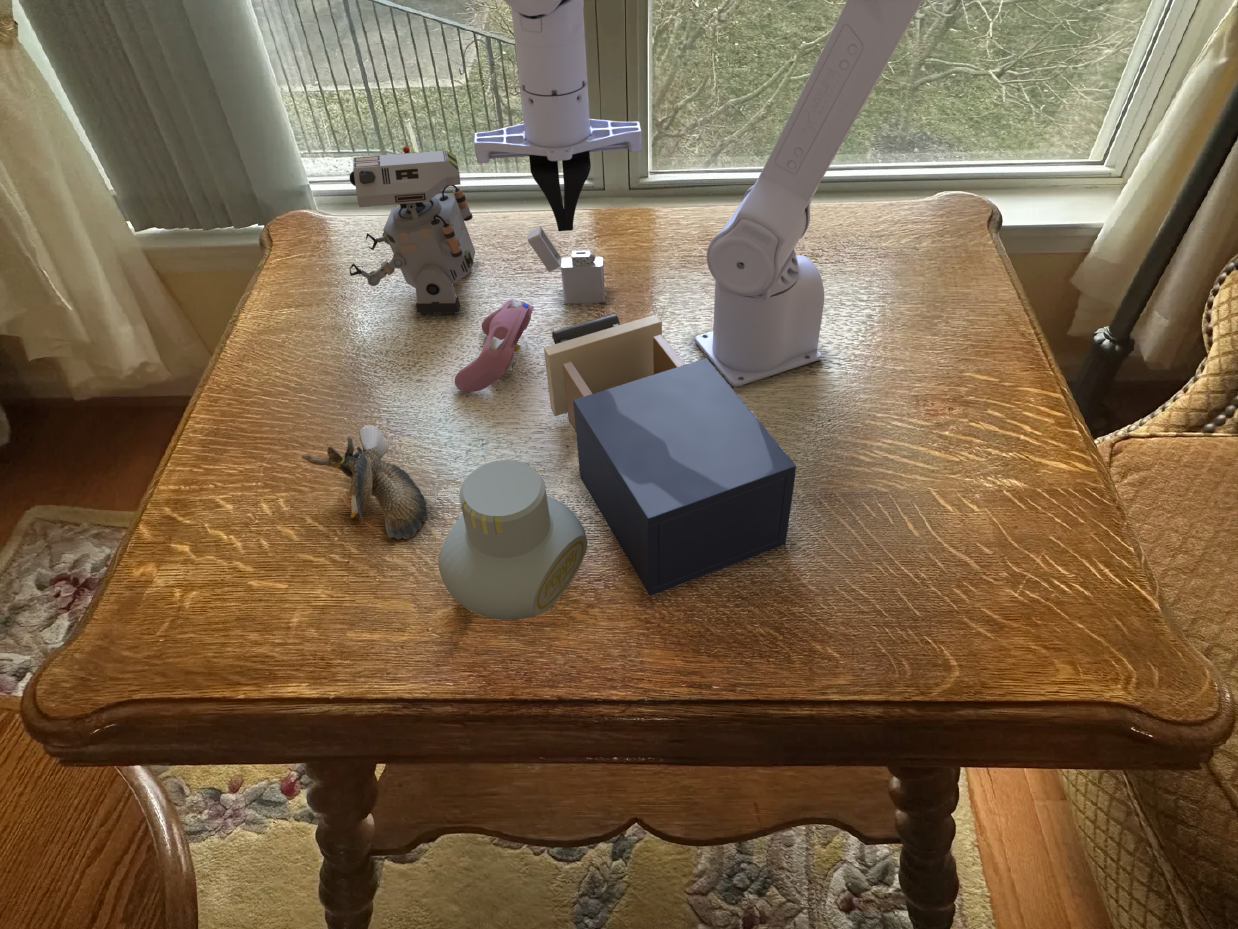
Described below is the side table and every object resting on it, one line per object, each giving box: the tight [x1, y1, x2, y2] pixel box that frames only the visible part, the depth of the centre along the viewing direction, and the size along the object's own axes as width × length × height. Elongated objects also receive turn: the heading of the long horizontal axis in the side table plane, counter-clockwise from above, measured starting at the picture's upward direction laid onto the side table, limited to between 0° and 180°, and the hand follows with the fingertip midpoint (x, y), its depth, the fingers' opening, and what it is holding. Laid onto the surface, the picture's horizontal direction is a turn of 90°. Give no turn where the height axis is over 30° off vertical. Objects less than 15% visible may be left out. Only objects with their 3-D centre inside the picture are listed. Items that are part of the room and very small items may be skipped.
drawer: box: [543, 313, 686, 434], centre depth 79 cm, size 17×10×7 cm, turn 24°
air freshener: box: [437, 459, 588, 621], centre depth 67 cm, size 11×8×10 cm
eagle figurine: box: [301, 424, 428, 540], centre depth 75 cm, size 8×7×9 cm
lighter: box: [527, 226, 606, 304], centre depth 94 cm, size 7×2×8 cm, turn 90°
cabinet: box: [573, 357, 797, 597], centre depth 72 cm, size 14×12×9 cm
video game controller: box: [454, 298, 535, 393], centre depth 87 cm, size 10×5×7 cm, turn 168°
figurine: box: [349, 146, 476, 317], centre depth 93 cm, size 9×12×15 cm
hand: (565, 225), depth 88 cm, fingers closed
